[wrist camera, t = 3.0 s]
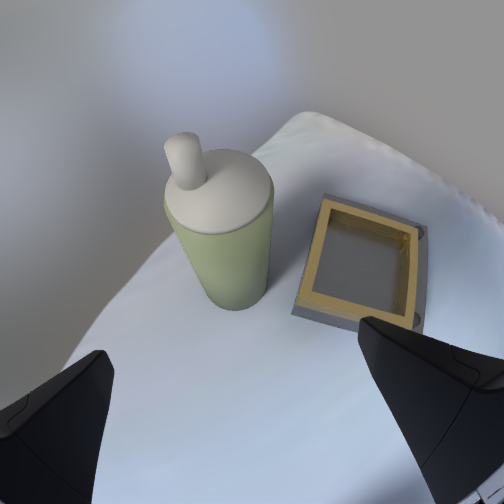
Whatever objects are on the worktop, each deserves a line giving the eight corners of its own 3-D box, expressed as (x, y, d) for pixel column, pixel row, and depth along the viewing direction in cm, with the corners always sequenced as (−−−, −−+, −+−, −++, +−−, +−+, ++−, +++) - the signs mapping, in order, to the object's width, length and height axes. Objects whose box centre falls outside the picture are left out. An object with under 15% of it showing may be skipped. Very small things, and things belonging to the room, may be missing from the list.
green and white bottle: (275, 261, 25) (290, 122, 12) (255, 319, 23) (252, 214, 9) (217, 244, 26) (184, 107, 13) (194, 298, 23) (122, 184, 10)
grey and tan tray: (414, 241, 26) (434, 218, 22) (405, 344, 21) (431, 334, 17) (318, 211, 27) (326, 182, 23) (290, 314, 23) (297, 298, 19)
